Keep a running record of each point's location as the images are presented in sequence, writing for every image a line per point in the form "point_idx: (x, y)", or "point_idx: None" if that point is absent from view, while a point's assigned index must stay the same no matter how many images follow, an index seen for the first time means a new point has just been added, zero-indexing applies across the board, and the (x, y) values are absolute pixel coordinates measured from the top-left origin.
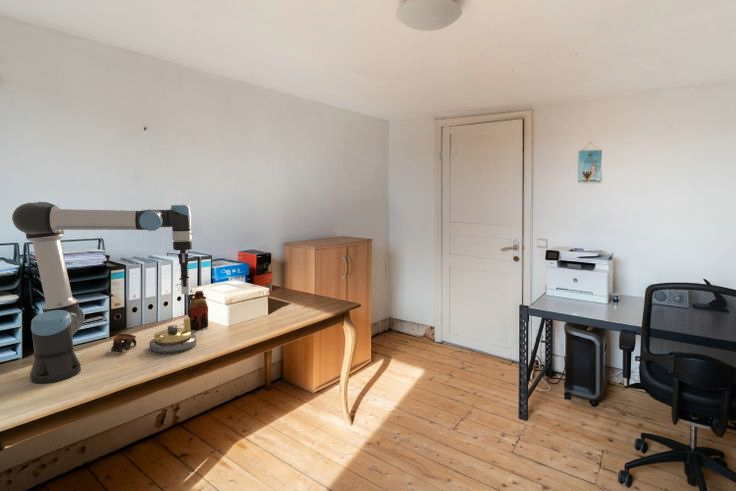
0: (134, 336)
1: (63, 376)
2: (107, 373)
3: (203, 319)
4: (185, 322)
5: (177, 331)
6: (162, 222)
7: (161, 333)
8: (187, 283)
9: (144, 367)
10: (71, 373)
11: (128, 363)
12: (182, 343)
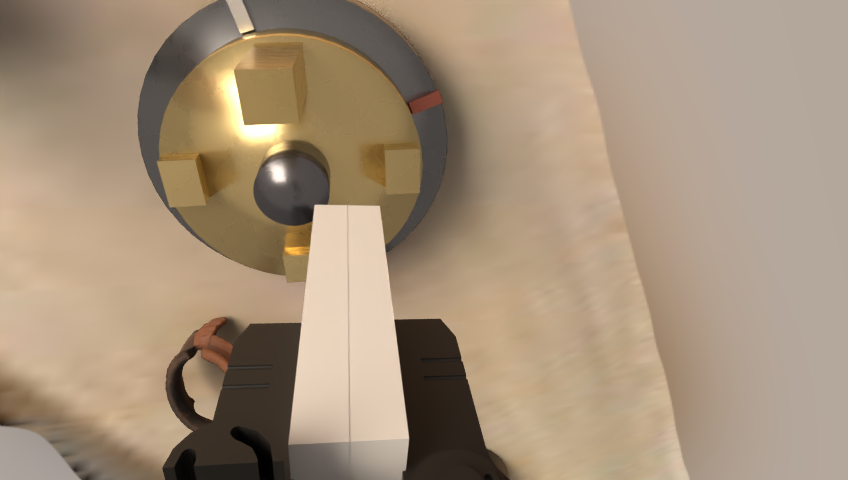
0: (227, 358)
1: (507, 473)
2: (527, 370)
3: None
4: (299, 103)
5: (304, 145)
6: None
7: (267, 238)
8: (396, 344)
9: (550, 263)
10: (495, 462)
11: (461, 320)
12: (418, 101)
